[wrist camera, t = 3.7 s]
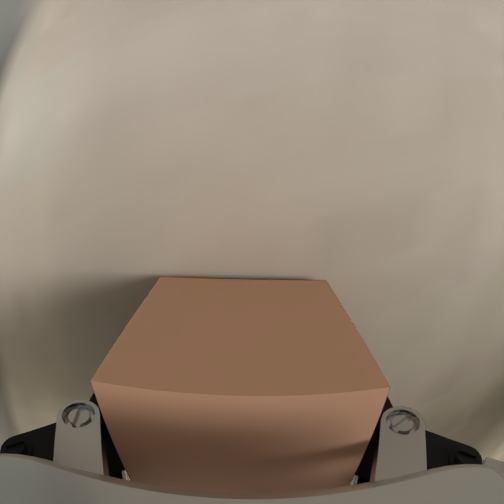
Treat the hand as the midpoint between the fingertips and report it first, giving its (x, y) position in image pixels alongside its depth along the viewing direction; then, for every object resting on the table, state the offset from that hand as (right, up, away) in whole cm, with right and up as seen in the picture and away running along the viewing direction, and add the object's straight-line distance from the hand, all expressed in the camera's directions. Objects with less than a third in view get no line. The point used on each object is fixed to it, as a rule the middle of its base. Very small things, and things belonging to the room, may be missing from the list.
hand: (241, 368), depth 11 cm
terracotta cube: (0, 0, +1) cm, 1 cm away
